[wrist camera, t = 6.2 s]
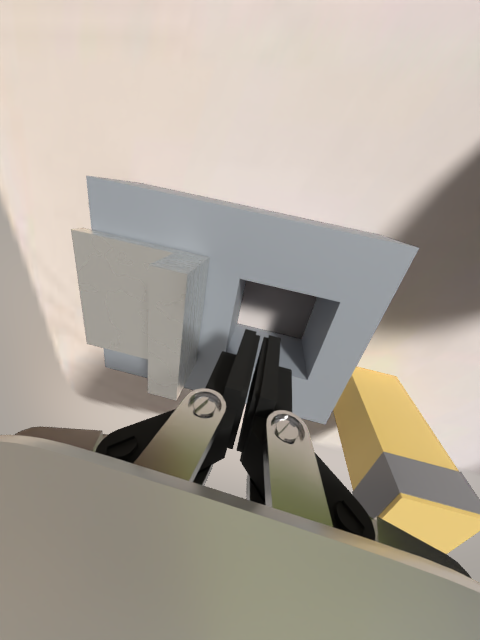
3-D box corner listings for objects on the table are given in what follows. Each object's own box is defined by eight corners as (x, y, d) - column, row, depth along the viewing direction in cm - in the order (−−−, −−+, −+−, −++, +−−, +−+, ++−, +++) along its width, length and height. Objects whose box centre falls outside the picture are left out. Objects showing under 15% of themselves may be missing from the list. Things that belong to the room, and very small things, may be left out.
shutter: (209, 257, 12) (187, 274, 9) (196, 363, 15) (176, 400, 13) (82, 227, 13) (22, 235, 10) (95, 337, 16) (53, 367, 13)
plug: (397, 376, 19) (494, 522, 11) (374, 410, 21) (441, 558, 12) (347, 363, 20) (401, 496, 11) (329, 399, 21) (363, 536, 13)
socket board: (378, 234, 15) (419, 247, 11) (315, 376, 21) (325, 424, 16) (140, 183, 16) (86, 175, 11) (141, 333, 21) (105, 367, 17)
